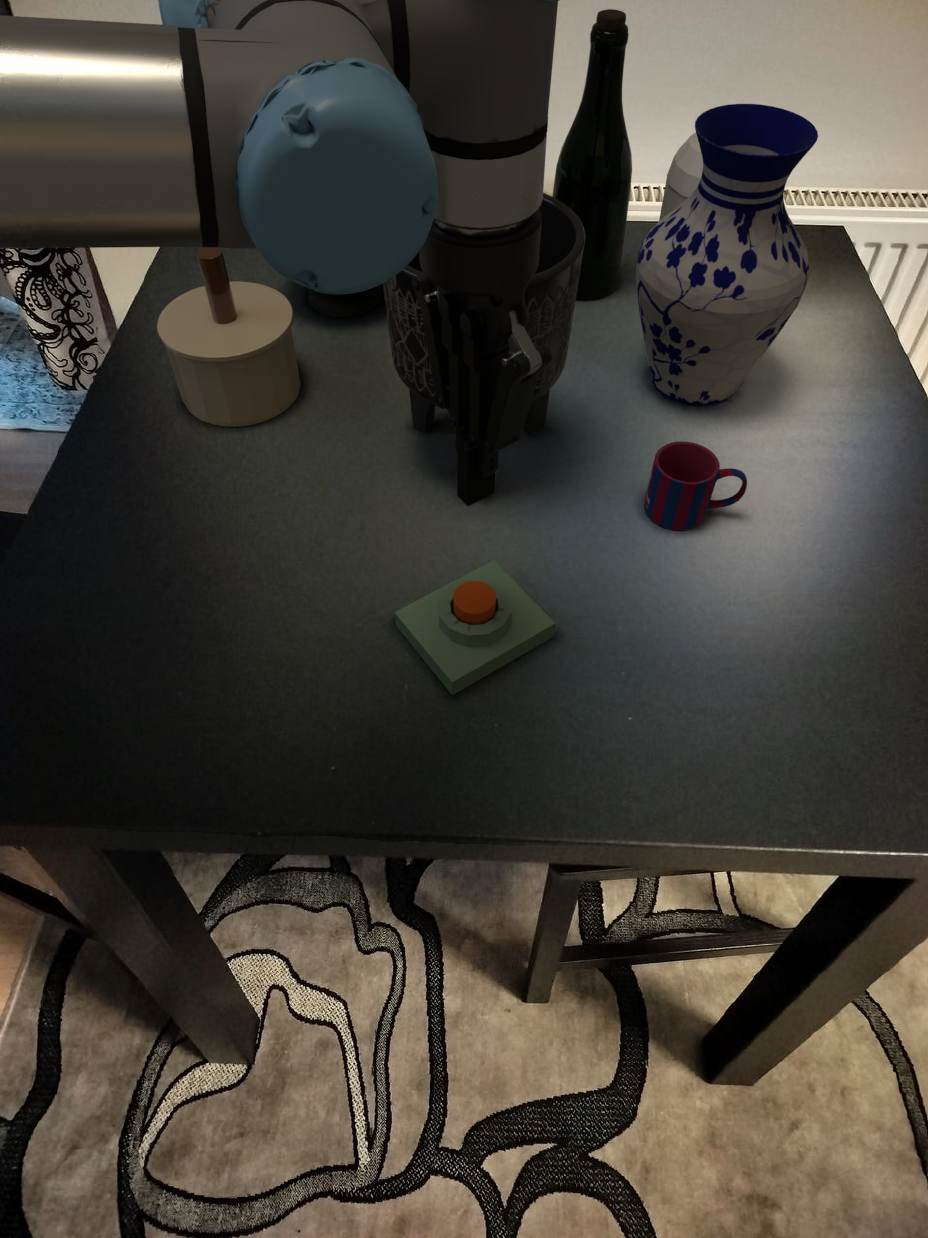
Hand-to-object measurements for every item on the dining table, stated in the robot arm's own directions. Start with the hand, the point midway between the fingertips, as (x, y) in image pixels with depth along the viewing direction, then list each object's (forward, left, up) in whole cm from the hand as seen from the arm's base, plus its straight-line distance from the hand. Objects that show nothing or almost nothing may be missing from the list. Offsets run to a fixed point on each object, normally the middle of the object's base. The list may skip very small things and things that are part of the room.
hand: (476, 494), depth 70 cm
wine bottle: (+49, +43, -19) cm, 68 cm away
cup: (+29, 0, -19) cm, 34 cm away
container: (+64, +35, -19) cm, 75 cm away
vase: (+46, +17, -19) cm, 52 cm away
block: (0, 0, -18) cm, 18 cm away
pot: (+19, +59, -19) cm, 65 cm away
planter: (+16, +22, -19) cm, 33 cm away
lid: (-2, +48, -9) cm, 49 cm away
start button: (0, 0, -15) cm, 15 cm away
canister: (-2, +48, -18) cm, 51 cm away
